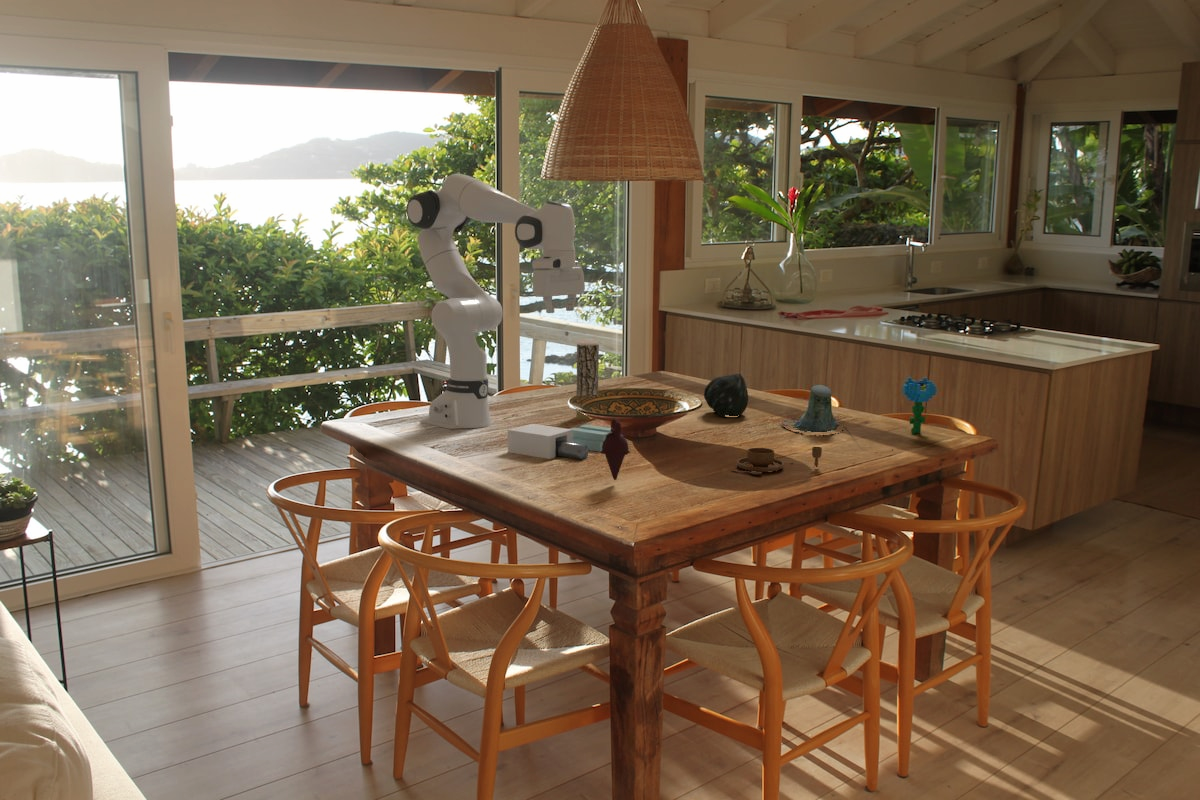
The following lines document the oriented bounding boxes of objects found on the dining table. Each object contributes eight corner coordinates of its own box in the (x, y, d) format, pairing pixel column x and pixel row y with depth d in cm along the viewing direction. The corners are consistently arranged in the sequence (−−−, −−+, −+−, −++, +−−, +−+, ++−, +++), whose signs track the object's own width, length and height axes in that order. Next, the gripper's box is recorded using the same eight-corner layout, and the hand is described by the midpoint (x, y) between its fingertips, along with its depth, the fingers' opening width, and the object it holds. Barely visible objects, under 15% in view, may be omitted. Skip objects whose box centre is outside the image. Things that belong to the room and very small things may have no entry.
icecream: (597, 477, 256) (598, 417, 253) (626, 476, 257) (627, 416, 255) (602, 484, 249) (603, 423, 247) (632, 482, 251) (633, 422, 248)
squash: (740, 414, 340) (742, 369, 338) (753, 423, 326) (755, 376, 323) (698, 415, 339) (699, 370, 336) (709, 424, 324) (710, 377, 321)
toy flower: (927, 436, 309) (931, 377, 306) (935, 443, 300) (939, 382, 297) (897, 436, 310) (900, 376, 307) (904, 442, 301) (908, 381, 298)
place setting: (752, 459, 280) (753, 437, 279) (823, 469, 270) (824, 446, 269) (725, 472, 265) (726, 449, 264) (799, 483, 255) (800, 459, 254)
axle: (537, 454, 281) (537, 440, 280) (546, 451, 284) (546, 437, 283) (580, 461, 273) (580, 446, 273) (588, 458, 277) (588, 444, 276)
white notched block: (507, 452, 282) (507, 429, 281) (531, 445, 291) (531, 423, 290) (549, 459, 274) (549, 436, 273) (572, 451, 283) (572, 429, 282)
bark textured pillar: (595, 423, 323) (596, 344, 318) (574, 422, 324) (574, 343, 320) (599, 419, 329) (600, 341, 325) (579, 418, 330) (579, 340, 326)
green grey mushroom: (832, 421, 326) (846, 374, 316) (846, 459, 309) (860, 410, 300) (775, 417, 325) (787, 369, 315) (785, 455, 308) (798, 405, 298)
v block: (564, 446, 290) (564, 430, 290) (588, 438, 300) (588, 423, 300) (600, 451, 284) (600, 435, 283) (623, 444, 294) (623, 428, 293)
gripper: (571, 260, 293) (572, 309, 295) (528, 262, 276) (529, 314, 278) (589, 260, 290) (590, 309, 292) (547, 262, 273) (548, 314, 275)
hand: (560, 311), depth 285 cm, fingers open, 8 cm apart
